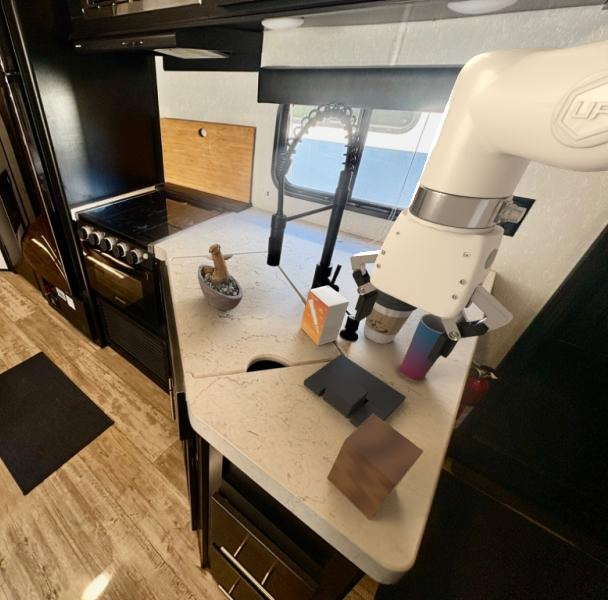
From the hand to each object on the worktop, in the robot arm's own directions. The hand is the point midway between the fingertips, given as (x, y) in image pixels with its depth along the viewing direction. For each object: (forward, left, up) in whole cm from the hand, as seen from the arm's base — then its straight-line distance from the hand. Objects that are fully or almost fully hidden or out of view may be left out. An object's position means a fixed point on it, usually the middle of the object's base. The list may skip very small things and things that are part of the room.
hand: (395, 335), depth 41 cm
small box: (+24, -24, -30) cm, 45 cm away
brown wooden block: (-5, +2, -30) cm, 30 cm away
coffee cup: (+14, -37, -30) cm, 50 cm away
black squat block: (+7, -11, -30) cm, 32 cm away
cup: (+2, -31, -30) cm, 43 cm away
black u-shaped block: (+7, -14, -30) cm, 33 cm away
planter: (+51, -11, -30) cm, 60 cm away
